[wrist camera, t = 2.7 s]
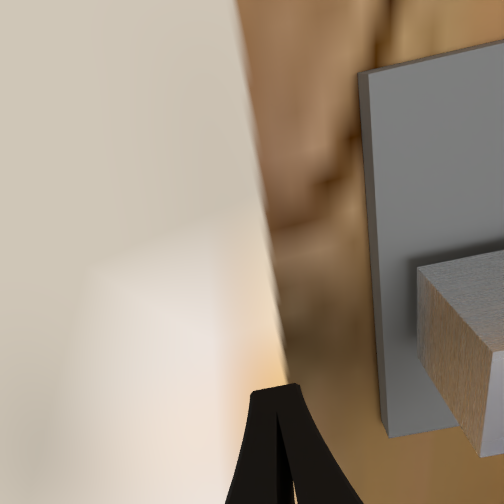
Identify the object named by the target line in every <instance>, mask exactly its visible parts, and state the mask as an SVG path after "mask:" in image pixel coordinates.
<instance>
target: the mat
mask: <svg viewBox="0 0 504 504" xmlns="http://www.w3.org/2000/svg"><path fill="white" fill-rule="evenodd" d="M358 85H359V100H360V115H361V129H362V144H363V158H364V173H365V187H366V202H367V216H368V231H369V246H370V260H371V275H372V289H373V304H374V318H375V333H376V347H377V362H378V377H379V391H380V406H381V420H382V423H383V425H384V428H385V430H386V432H387V435H388V437H389V438H394V437H400V436H405V435H411V434H416V433H422V432H428V431H433V430H439V429H444V428H450V427H455V426H460V425H459V423H458V422H457V420H456V419H455V417H454V415H453V414H452V412H451V411H450V409H449V407H448V406H447V404H446V403H445V401H444V399H443V398H442V396H441V395H440V393H439V391H438V390H437V388H436V387H435V385H434V383H433V382H432V380H431V379H430V377H429V375H428V374H427V372H426V371H425V369H424V367H423V366H422V364H421V363H420V361H419V359H418V358H417V267H421V266H426V265H431V264H436V263H440V262H445V261H450V260H455V259H460V258H465V257H470V256H475V255H480V254H485V253H490V252H495V251H500V250H504V39H503V40H498V41H494V42H490V43H485V44H481V45H477V46H472V47H468V48H464V49H459V50H455V51H451V52H446V53H442V54H438V55H433V56H429V57H425V58H420V59H416V60H411V61H407V62H403V63H398V64H394V65H390V66H385V67H381V68H377V69H372V70H368V71H364V72H359V73H358Z"/></svg>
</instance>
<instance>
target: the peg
mask: <svg viewBox="0 0 504 504" xmlns="http://www.w3.org/2000/svg"><path fill="white" fill-rule="evenodd" d="M417 358H418V359H419V361H420V363H421V364H422V366H423V367H424V369H425V371H426V372H427V374H428V375H429V377H430V379H431V380H432V382H433V383H434V385H435V387H436V388H437V390H438V391H439V393H440V395H441V396H442V398H443V399H444V401H445V403H446V404H447V406H448V407H449V409H450V411H451V412H452V414H453V415H454V417H455V419H456V420H457V422H458V423H459V425H460V427H461V428H462V430H463V431H464V433H465V435H466V436H467V438H468V439H469V441H470V443H471V444H472V446H473V447H474V449H475V451H476V452H477V454H478V456H479V457H480V458H481V457H487V456H492V455H498V454H504V250H500V251H495V252H490V253H485V254H480V255H475V256H470V257H465V258H460V259H455V260H450V261H445V262H440V263H436V264H431V265H426V266H421V267H417Z"/></svg>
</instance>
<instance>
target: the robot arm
mask: <svg viewBox="0 0 504 504" xmlns="http://www.w3.org/2000/svg"><path fill="white" fill-rule="evenodd" d="M293 482H294V487H295V492H296V497H297V502H298V504H364V503H363V502H362V501H361V499H360V498H359V496H358V495H357V493H356V492H355V490H354V489H353V487H352V486H351V484H350V483H349V481H348V480H347V478H346V476H345V475H344V473H343V472H342V470H341V469H340V467H339V465H338V464H337V462H336V460H335V459H334V457H333V455H332V454H331V452H330V450H329V448H328V447H327V445H326V443H325V441H324V440H323V438H322V436H321V434H320V432H319V431H318V429H317V427H316V425H315V423H314V421H313V419H312V417H311V414H310V412H309V410H308V408H307V405H306V403H305V401H304V398H303V395H302V392H301V389H300V385H298V384H296V383H293V384H287V385H282V386H277V387H272V388H267V389H261V390H256V391H253V392H252V393H251V395H250V403H249V411H248V417H247V422H246V428H245V432H244V437H243V441H242V445H241V449H240V454H239V457H238V461H237V465H236V469H235V472H234V476H233V479H232V482H231V486H230V489H229V492H228V495H227V498H226V501H225V504H295V500H294V487H293Z"/></svg>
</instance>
